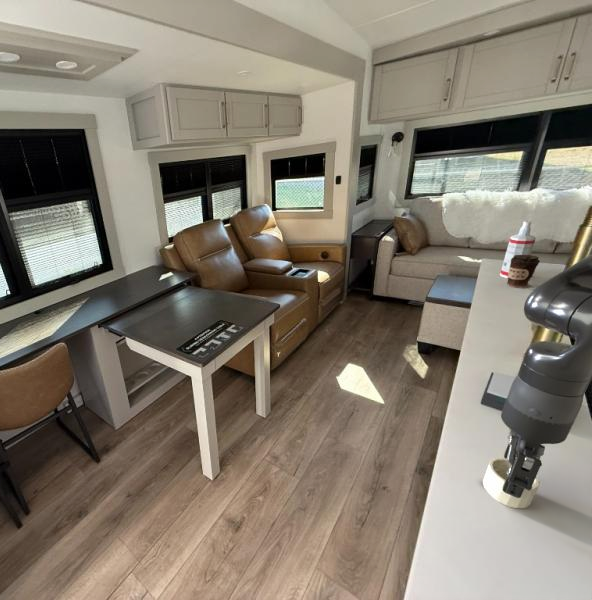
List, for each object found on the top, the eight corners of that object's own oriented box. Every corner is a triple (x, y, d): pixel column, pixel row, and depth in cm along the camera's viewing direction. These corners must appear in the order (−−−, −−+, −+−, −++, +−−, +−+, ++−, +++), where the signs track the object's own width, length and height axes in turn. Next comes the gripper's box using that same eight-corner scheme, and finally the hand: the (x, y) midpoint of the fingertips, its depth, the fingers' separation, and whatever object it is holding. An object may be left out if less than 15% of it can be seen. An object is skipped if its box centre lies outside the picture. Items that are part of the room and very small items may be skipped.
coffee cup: (524, 290, 131) (533, 260, 126) (499, 285, 138) (507, 256, 133) (535, 285, 134) (545, 256, 129) (510, 280, 141) (518, 252, 136)
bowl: (497, 473, 62) (505, 453, 60) (538, 503, 56) (548, 481, 54) (473, 484, 60) (480, 464, 58) (513, 515, 55) (522, 494, 53)
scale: (489, 378, 86) (492, 369, 85) (549, 396, 78) (552, 386, 77) (480, 403, 78) (483, 394, 77) (544, 426, 71) (549, 416, 69)
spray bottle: (498, 277, 146) (514, 222, 136) (500, 272, 150) (515, 219, 141) (522, 279, 140) (540, 223, 131) (524, 275, 145) (541, 220, 135)
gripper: (582, 445, 43) (543, 521, 49) (571, 390, 52) (539, 460, 59) (506, 420, 48) (480, 493, 54) (508, 374, 57) (485, 440, 64)
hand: (511, 475), depth 56 cm, fingers open, 8 cm apart
